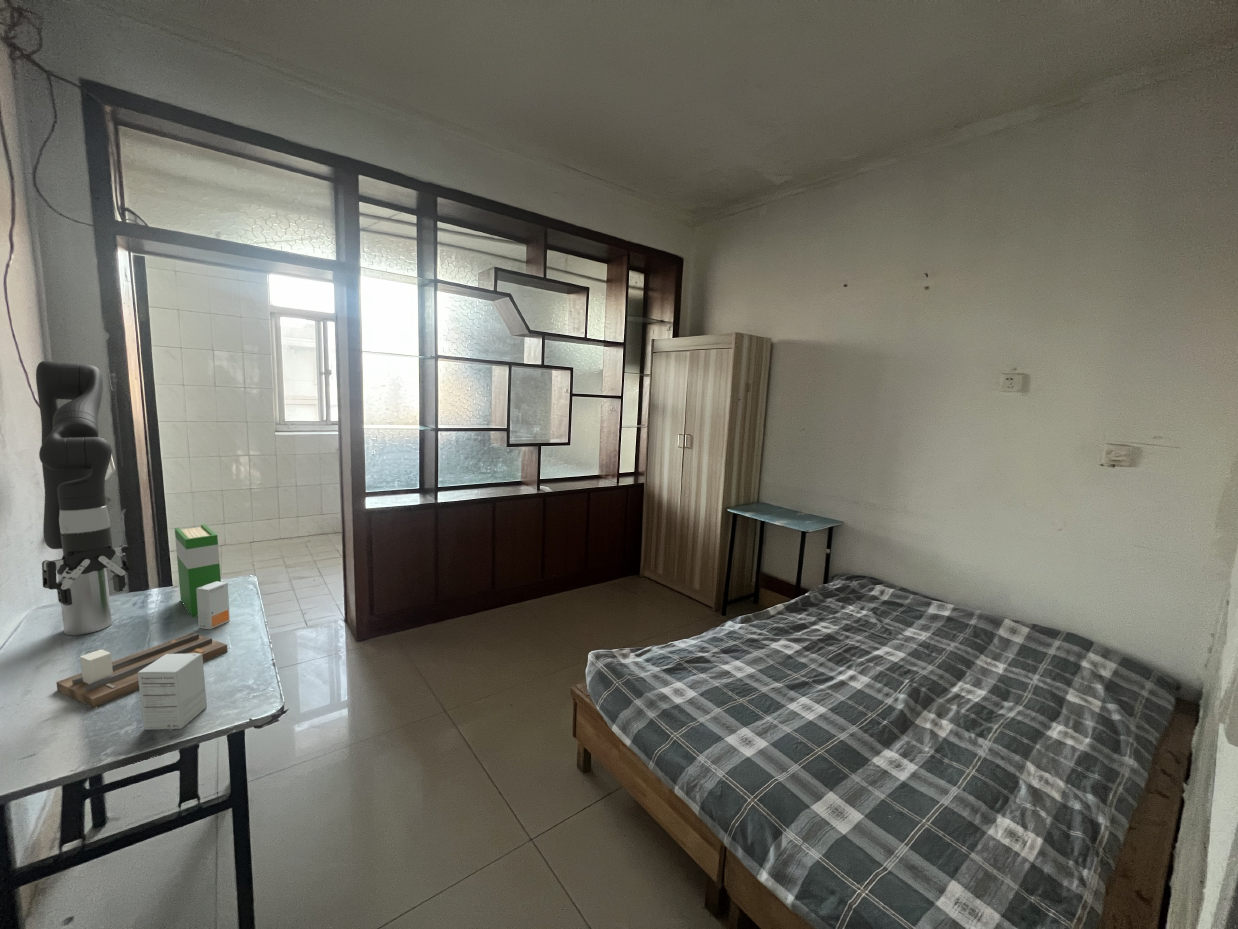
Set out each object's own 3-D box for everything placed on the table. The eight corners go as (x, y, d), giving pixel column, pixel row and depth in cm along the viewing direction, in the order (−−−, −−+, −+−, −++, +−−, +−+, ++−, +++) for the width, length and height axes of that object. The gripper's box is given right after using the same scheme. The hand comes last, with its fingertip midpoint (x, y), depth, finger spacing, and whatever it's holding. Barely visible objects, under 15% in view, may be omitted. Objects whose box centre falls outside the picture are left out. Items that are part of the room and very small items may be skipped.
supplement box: (171, 708, 106) (166, 652, 104) (208, 707, 107) (203, 652, 105) (141, 730, 99) (135, 672, 97) (181, 729, 100) (176, 671, 98)
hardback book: (180, 600, 159) (174, 528, 156) (210, 594, 165) (204, 524, 162) (191, 617, 148) (185, 539, 145) (222, 609, 153) (217, 534, 150)
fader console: (57, 690, 111) (55, 677, 110) (192, 639, 135) (191, 628, 134) (93, 707, 105) (91, 693, 105) (227, 651, 129) (226, 640, 129)
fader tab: (83, 681, 110) (80, 656, 110) (103, 673, 114) (101, 649, 113) (92, 685, 109) (89, 660, 108) (113, 677, 112) (110, 653, 111)
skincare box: (210, 630, 140) (207, 590, 139) (198, 628, 141) (195, 588, 140) (231, 621, 146) (228, 582, 145) (219, 619, 147) (216, 580, 146)
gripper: (118, 519, 117) (125, 584, 119) (29, 533, 104) (39, 606, 106) (136, 522, 114) (143, 589, 116) (48, 537, 101) (57, 612, 103)
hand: (93, 597), depth 111 cm, fingers open, 8 cm apart
